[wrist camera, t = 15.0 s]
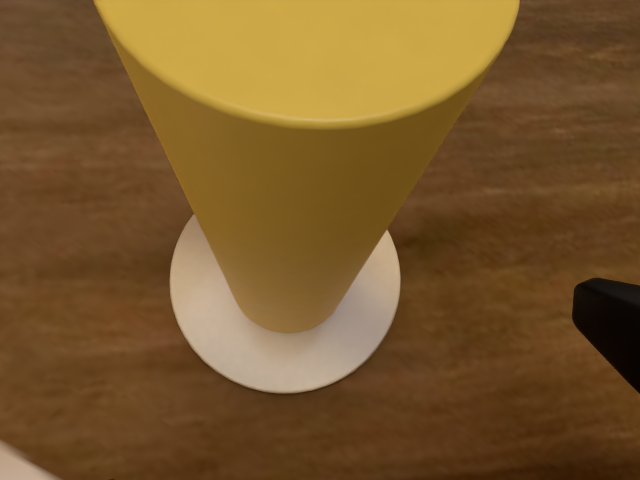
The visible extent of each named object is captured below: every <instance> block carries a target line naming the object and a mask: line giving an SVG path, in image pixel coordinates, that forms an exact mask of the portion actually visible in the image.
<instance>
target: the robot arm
mask: <svg viewBox="0 0 640 480" xmlns="http://www.w3.org/2000/svg"><path fill="white" fill-rule="evenodd" d="M572 319H573V322H574V324H575V326H576V327H577V329H578V330H579V331H580V332H581V333H582V334H583V335H584V336H585V337H586V338H587V339H588V341H589V342H590V343H591V344H592V345H593V346H594V347H595V348H596V349H597V350H598V351H599V352H600V353H601V354H602V355H603V356H604V357H605V358H606V360H607V361H608V362H609V363H610V364H611V365H612V366H613V367H614V368H615V369H616V370H617V371H618V372H619V373H620V374H621V375H622V376H623V378H624V379H625V380H626V381H627V382H628V383H629V384H630V385H631V386H632V387H633V388H634V389H635V390H636V391H638V392H639V393H640V286H639V285H634V284H629V283H623V282H618V281H613V280H607V279H602V278H592V279H589V280H587V281H584V282H582V283H580V284H578V285H577V286H576V287H575V289H574V297H573V310H572ZM111 480H114V479H111Z"/></svg>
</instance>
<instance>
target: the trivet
mask: <svg viewBox="0 0 640 480" xmlns="http://www.w3.org/2000/svg"><path fill="white" fill-rule="evenodd" d="M400 281H401V278H400V266H399V261H398V256H397V252H396V249H395V246H394V243H393V241H392V238H391V236H390V234H389V232H388V230H386V232H385V233H384V235H383V236H382V238H381V240H380V241H379V243H378V244H377V246H376V247H375V249H374V250H373V252H372V254H371V255H370V257H369V258H368V260H367V261H366V263H365V264H364V266H363V268H362V269H361V271H360V272H359V274H358V275H357V277H356V279H355V280H354V282H353V283H352V285H351V286H350V288H349V289H348V291H347V293H346V294H345V296H344V297H343V299H342V300H341V302H340V303H339V305H338V307H337V308H336V309H335V311H334V312H333V313H332V314H331V315H330V316H329V317H328V318H327V319H326V320H325V321H323V322H322V323H320V324H319V325H317V326H315V327H313V328H311V329H308V330H305V331H301V332H294V333H282V332H275V331H272V330H268V329H266V328H264V327H261V326H259V325H258V324H256V323H255V322H253V321H252V320H251V319H249V318H248V317H247V316H246V315H245V314H244V313H243V311H242V310H241V309H240V307H239V306H238V304H237V302H236V300H235V298H234V296H233V294H232V292H231V290H230V288H229V286H228V283H227V281H226V279H225V277H224V275H223V273H222V271H221V269H220V267H219V265H218V262H217V260H216V258H215V256H214V254H213V252H212V250H211V248H210V246H209V244H208V241H207V239H206V237H205V235H204V233H203V231H202V229H201V227H200V225H199V223H198V220H197V218H196V216H195V214H193V216H192V217H191V218H190V220H189V221H188V222H187V224H186V226H185V228H184V229H183V231H182V233H181V235H180V237H179V240H178V242H177V245H176V247H175V250H174V254H173V258H172V263H171V270H170V295H171V301H172V306H173V311H174V314H175V317H176V319H177V322H178V325H179V327H180V329H181V331H182V333H183V335H184V337H185V339H186V340H187V342H188V343H189V344H190V346H191V347H192V349H193V350H194V351H195V352H196V354H197V355H198V356H199V357H200V358H201V359H202V360H203V361H204V362H205V363H206V364H207V365H209V366H210V367H211V368H212V369H214V370H215V371H216V372H217V373H219V374H220V375H222V376H224V377H226V378H227V379H229V380H231V381H233V382H235V383H237V384H240V385H242V386H245V387H247V388H251V389H255V390H258V391H262V392H270V393H279V394H283V393H300V392H306V391H312V390H315V389H318V388H322V387H325V386H328V385H330V384H332V383H334V382H337V381H339V380H341V379H343V378H344V377H346V376H347V375H349V374H350V373H352V372H354V371H355V370H356V369H358V368H359V367H360V366H361V365H362V364H363V363H365V362H366V361H367V360H368V359H369V358H370V357H371V355H372V354H373V353H374V352H375V351H376V350H377V349H378V347H379V346H380V344H381V343H382V341H383V340H384V338H385V337H386V335H387V333H388V331H389V329H390V327H391V325H392V323H393V320H394V317H395V314H396V311H397V307H398V301H399V296H400Z"/></svg>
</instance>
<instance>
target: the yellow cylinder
mask: <svg viewBox="0 0 640 480" xmlns="http://www.w3.org/2000/svg"><path fill="white" fill-rule="evenodd" d="M93 1H94V4H95V6H96V8H97V10H98V12H99V14H100V17H101V19H102V21H103V23H104V25H105V27H106V29H107V31H108V33H109V35H110V38H111V40H112V42H113V44H114V46H115V48H116V50H117V52H118V54H119V56H120V59H121V61H122V63H123V65H124V67H125V69H126V71H127V73H128V75H129V77H130V80H131V82H132V84H133V86H134V88H135V90H136V92H137V94H138V96H139V99H140V101H141V103H142V105H143V107H144V109H145V111H146V113H147V115H148V117H149V120H150V122H151V124H152V126H153V128H154V130H155V132H156V134H157V136H158V138H159V141H160V143H161V145H162V147H163V149H164V151H165V153H166V155H167V157H168V159H169V162H170V164H171V166H172V168H173V170H174V172H175V174H176V176H177V178H178V180H179V183H180V185H181V187H182V189H183V191H184V193H185V195H186V197H187V199H188V202H189V204H190V206H191V208H192V210H193V212H194V214H195V216H196V218H197V220H198V223H199V225H200V227H201V229H202V231H203V233H204V235H205V237H206V239H207V241H208V244H209V246H210V248H211V250H212V252H213V254H214V256H215V258H216V260H217V262H218V265H219V267H220V269H221V271H222V273H223V275H224V277H225V279H226V281H227V283H228V286H229V288H230V290H231V292H232V294H233V296H234V298H235V300H236V302H237V304H238V306H239V307H240V309H241V310H242V311H243V313H244V314H245V315H246V316H247V317H248V318H249V319H251V320H252V321H253V322H255V323H256V324H258V325H259V326H261V327H264V328H266V329H268V330H272V331H275V332H282V333H294V332H301V331H305V330H308V329H311V328H313V327H315V326H317V325H319V324H320V323H322V322H323V321H325V320H326V319H327V318H328V317H329V316H330V315H331V314H332V313H333V312H334V311H335V309H336V308H337V307H338V305H339V303H340V302H341V300H342V299H343V297H344V296H345V294H346V293H347V291H348V289H349V288H350V286H351V285H352V283H353V282H354V280H355V279H356V277H357V275H358V274H359V272H360V271H361V269H362V268H363V266H364V264H365V263H366V261H367V260H368V258H369V257H370V255H371V254H372V252H373V250H374V249H375V247H376V246H377V244H378V243H379V241H380V240H381V238H382V236H383V235H384V233H385V232H386V230H387V229H388V227H389V225H390V224H391V222H392V221H393V219H394V218H395V216H396V215H397V213H398V211H399V210H400V208H401V207H402V205H403V204H404V202H405V201H406V199H407V197H408V196H409V194H410V193H411V191H412V190H413V188H414V186H415V185H416V183H417V182H418V180H419V179H420V177H421V176H422V174H423V172H424V171H425V169H426V168H427V166H428V165H429V163H430V161H431V160H432V158H433V157H434V155H435V154H436V152H437V151H438V149H439V147H440V146H441V144H442V143H443V141H444V140H445V138H446V137H447V135H448V133H449V132H450V130H451V129H452V127H453V126H454V124H455V122H456V121H457V119H458V118H459V116H460V115H461V113H462V112H463V110H464V108H465V107H466V105H467V104H468V102H469V101H470V99H471V98H472V96H473V94H474V93H475V91H476V90H477V88H478V87H479V85H480V83H481V82H482V80H483V79H484V77H485V76H486V74H487V73H488V71H489V69H490V68H491V66H492V65H493V63H494V62H495V60H496V59H497V57H498V55H499V54H500V52H501V50H502V49H503V47H504V45H505V43H506V42H507V40H508V38H509V36H510V34H511V32H512V29H513V26H514V23H515V20H516V18H517V15H518V9H519V3H520V0H93Z"/></svg>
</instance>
